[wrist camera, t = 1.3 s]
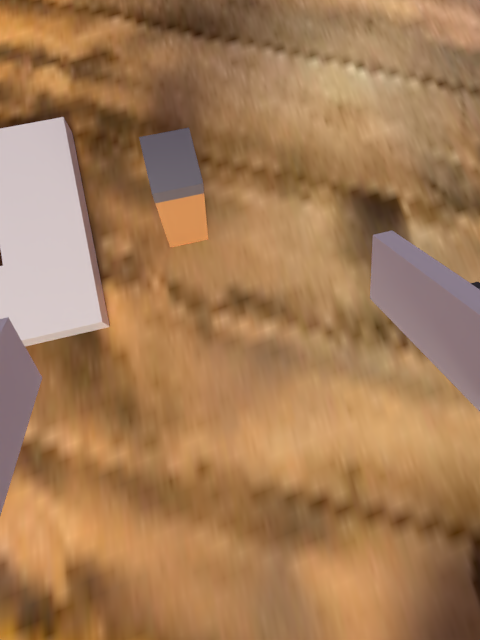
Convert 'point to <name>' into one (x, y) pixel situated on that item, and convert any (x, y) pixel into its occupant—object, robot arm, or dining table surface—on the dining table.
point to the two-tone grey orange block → (176, 185)
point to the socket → (46, 236)
